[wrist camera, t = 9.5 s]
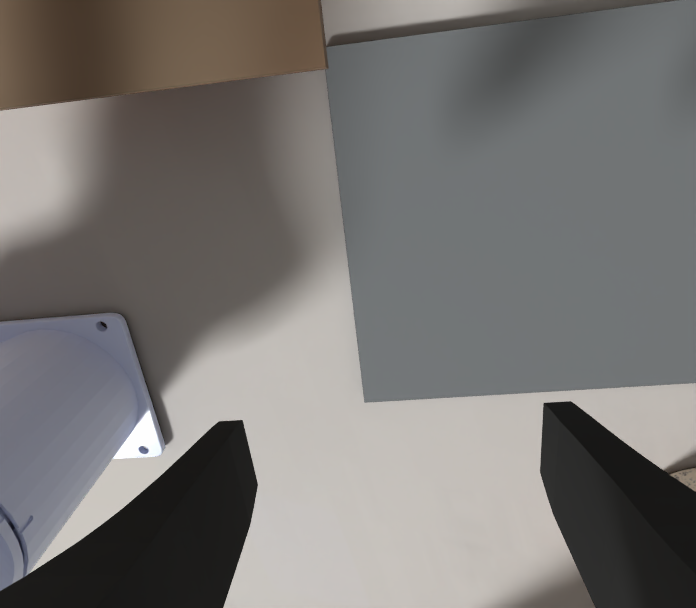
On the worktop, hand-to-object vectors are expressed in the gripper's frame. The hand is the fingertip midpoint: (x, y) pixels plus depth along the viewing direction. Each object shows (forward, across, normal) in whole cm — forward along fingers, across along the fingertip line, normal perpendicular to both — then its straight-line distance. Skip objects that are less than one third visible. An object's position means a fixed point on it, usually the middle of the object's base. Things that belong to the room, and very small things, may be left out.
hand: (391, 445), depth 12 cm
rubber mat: (+10, -6, -2) cm, 12 cm away
